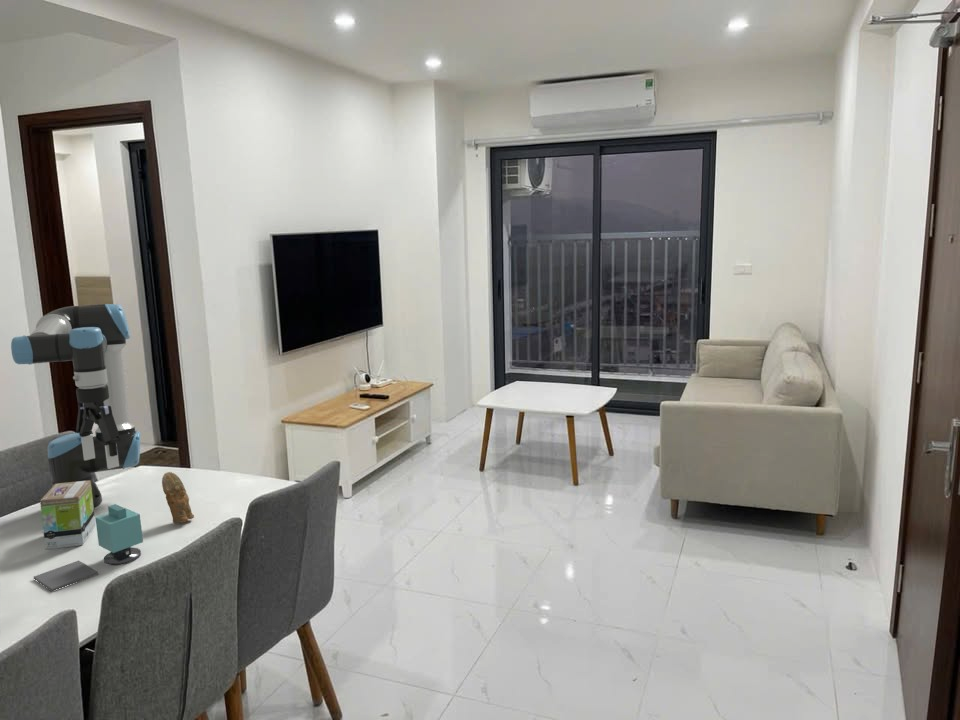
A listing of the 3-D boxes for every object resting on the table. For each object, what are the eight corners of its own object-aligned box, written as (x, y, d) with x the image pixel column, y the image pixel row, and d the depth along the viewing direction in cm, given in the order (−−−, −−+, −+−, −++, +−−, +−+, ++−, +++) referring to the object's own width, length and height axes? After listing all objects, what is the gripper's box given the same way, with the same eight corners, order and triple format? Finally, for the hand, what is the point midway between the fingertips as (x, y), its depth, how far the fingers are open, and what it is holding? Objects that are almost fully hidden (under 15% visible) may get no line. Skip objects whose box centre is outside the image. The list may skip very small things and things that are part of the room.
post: (97, 559, 191) (93, 528, 189) (130, 547, 198) (127, 517, 196) (114, 568, 185) (110, 536, 184) (147, 555, 192) (143, 524, 191)
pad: (33, 579, 180) (33, 576, 180) (78, 563, 189) (78, 560, 189) (52, 591, 174) (52, 588, 173) (98, 574, 182) (98, 571, 182)
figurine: (185, 526, 211) (180, 478, 209) (161, 525, 213) (156, 477, 210) (201, 515, 219) (197, 469, 217) (178, 514, 221) (173, 468, 218)
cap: (98, 545, 190) (94, 509, 188) (128, 535, 196) (124, 499, 194) (113, 553, 185) (108, 515, 183) (143, 542, 192) (138, 505, 190)
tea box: (84, 545, 200) (78, 496, 197) (44, 550, 197) (37, 500, 194) (96, 525, 214) (90, 478, 211) (59, 529, 211) (53, 482, 209)
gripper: (56, 383, 191) (66, 459, 195) (99, 393, 176) (109, 475, 180) (85, 379, 197) (94, 452, 201) (129, 388, 182) (138, 467, 186)
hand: (101, 463), depth 190 cm, fingers open, 13 cm apart
